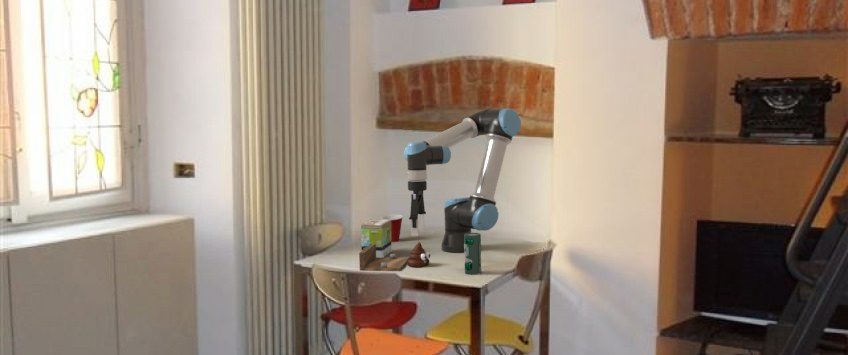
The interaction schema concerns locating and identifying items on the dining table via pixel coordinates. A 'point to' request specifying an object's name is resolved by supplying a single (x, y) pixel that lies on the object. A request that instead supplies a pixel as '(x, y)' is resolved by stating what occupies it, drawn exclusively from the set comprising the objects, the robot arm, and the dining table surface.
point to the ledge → (379, 261)
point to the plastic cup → (394, 226)
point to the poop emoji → (418, 257)
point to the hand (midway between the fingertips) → (417, 233)
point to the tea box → (377, 236)
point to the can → (472, 253)
